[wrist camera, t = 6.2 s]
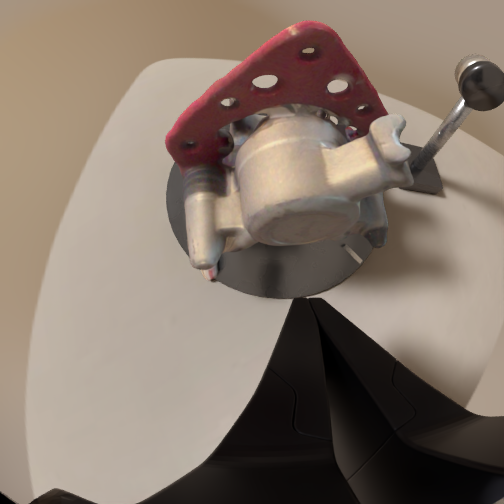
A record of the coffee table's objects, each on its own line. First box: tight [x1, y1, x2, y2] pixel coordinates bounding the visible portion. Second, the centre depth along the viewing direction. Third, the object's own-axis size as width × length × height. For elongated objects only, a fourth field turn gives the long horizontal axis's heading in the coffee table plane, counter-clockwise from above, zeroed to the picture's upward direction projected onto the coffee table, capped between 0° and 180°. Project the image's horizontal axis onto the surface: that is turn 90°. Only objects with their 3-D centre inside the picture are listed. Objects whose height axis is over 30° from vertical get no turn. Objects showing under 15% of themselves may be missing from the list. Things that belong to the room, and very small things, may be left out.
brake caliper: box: [165, 21, 414, 280], centre depth 13 cm, size 11×11×12 cm
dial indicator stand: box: [399, 54, 504, 194], centre depth 13 cm, size 4×4×12 cm
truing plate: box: [166, 113, 373, 298], centre depth 17 cm, size 14×14×1 cm
